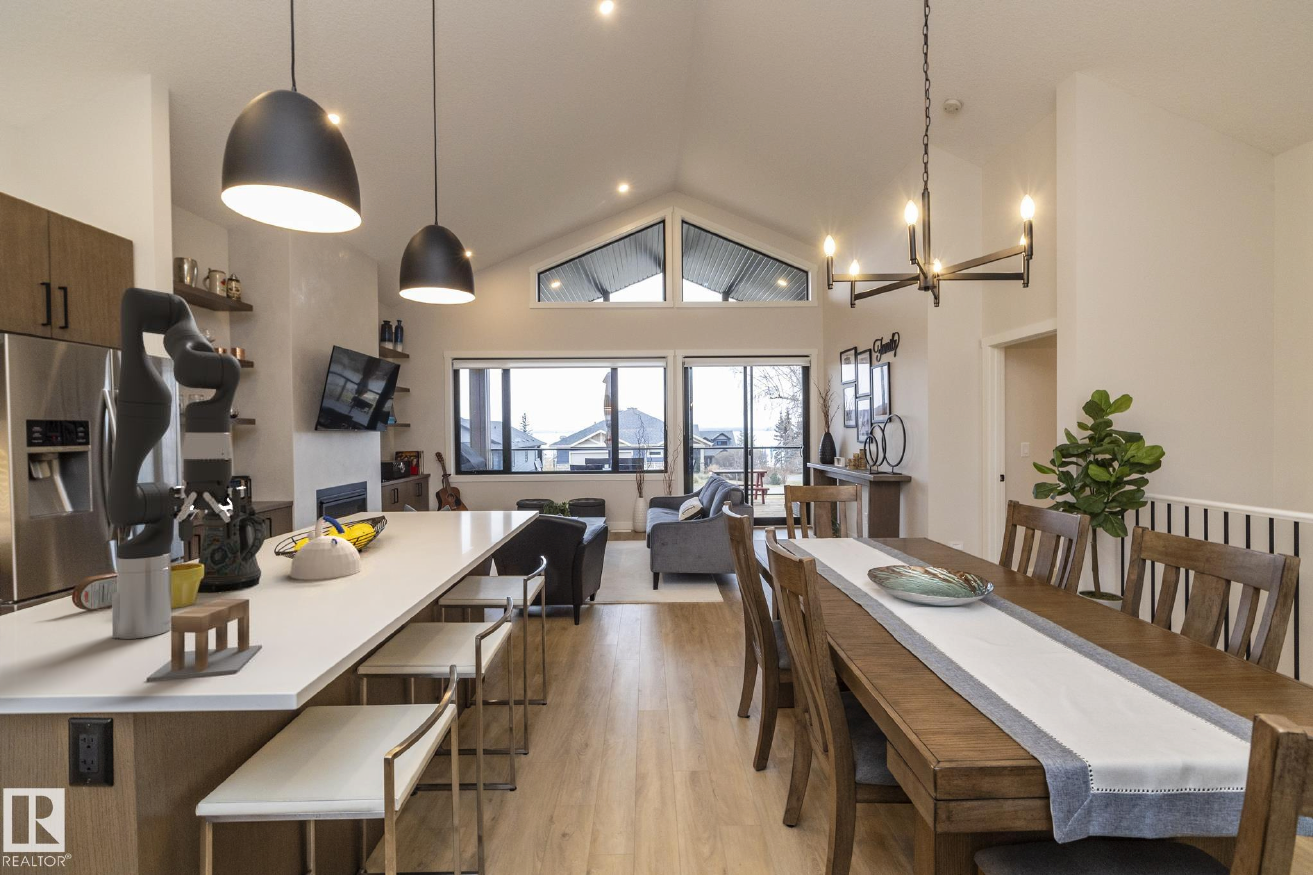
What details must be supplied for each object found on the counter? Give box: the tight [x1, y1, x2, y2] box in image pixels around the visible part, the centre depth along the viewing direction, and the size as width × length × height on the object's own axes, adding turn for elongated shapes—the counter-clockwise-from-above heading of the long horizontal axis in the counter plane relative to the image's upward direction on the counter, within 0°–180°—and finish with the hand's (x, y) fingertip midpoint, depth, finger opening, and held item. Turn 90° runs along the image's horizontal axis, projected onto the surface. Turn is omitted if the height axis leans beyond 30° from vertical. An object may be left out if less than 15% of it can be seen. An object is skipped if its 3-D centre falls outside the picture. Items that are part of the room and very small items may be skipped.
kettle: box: [289, 515, 362, 581], centre depth 198 cm, size 20×21×18 cm
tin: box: [71, 572, 117, 612], centre depth 159 cm, size 15×3×8 cm, turn 159°
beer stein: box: [197, 499, 267, 594], centre depth 180 cm, size 16×19×25 cm
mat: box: [146, 644, 263, 682], centre depth 119 cm, size 14×14×1 cm
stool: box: [170, 598, 250, 671], centre depth 120 cm, size 10×6×12 cm
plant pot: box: [171, 562, 204, 609], centre depth 160 cm, size 10×10×10 cm
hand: (208, 541), depth 119 cm, fingers open, 8 cm apart
